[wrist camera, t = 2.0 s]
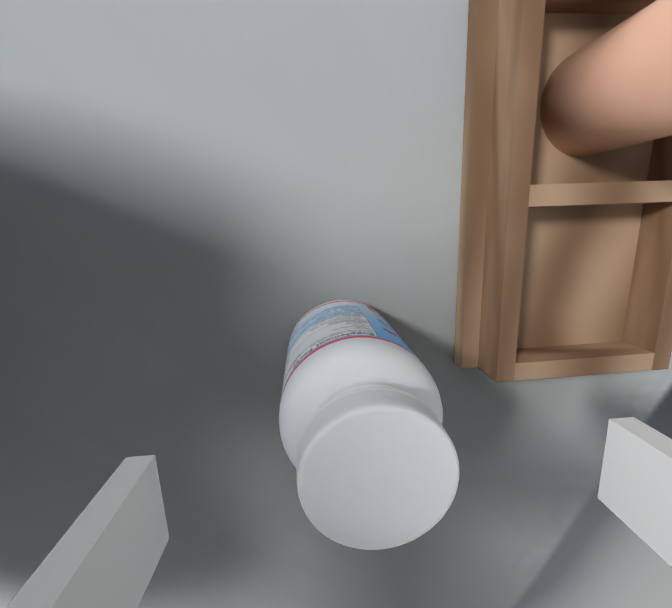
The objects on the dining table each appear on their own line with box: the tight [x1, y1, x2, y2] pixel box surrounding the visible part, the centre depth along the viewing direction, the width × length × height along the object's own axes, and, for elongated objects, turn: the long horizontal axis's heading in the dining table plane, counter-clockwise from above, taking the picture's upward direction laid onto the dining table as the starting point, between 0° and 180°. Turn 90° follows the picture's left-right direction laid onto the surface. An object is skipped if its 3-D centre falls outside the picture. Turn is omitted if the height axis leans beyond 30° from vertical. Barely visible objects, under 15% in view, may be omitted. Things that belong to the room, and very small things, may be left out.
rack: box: [454, 0, 672, 382], centre depth 18 cm, size 12×19×3 cm, turn 2°
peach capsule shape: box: [540, 0, 672, 157], centre depth 14 cm, size 5×5×8 cm
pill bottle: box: [279, 299, 460, 550], centre depth 15 cm, size 6×6×11 cm
